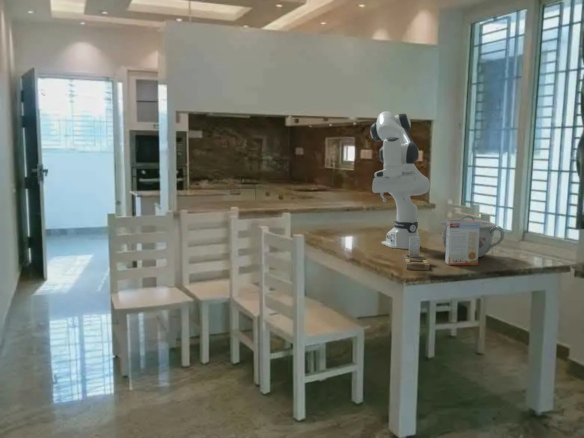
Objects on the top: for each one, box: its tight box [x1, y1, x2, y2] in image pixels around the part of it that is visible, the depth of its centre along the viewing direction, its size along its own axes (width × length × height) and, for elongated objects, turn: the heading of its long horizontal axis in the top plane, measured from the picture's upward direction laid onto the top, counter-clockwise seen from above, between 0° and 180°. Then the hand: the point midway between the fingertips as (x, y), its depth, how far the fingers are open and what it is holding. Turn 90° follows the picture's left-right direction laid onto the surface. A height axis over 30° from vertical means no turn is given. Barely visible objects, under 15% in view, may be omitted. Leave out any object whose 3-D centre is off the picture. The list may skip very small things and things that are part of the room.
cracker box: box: [444, 219, 480, 266], centre depth 270 cm, size 14×6×21 cm, turn 92°
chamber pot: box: [439, 214, 505, 258], centre depth 292 cm, size 28×28×21 cm
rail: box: [401, 253, 431, 271], centre depth 269 cm, size 24×10×3 cm, turn 174°
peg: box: [407, 236, 421, 258], centre depth 275 cm, size 4×4×12 cm
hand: (394, 201), depth 273 cm, fingers open, 8 cm apart
